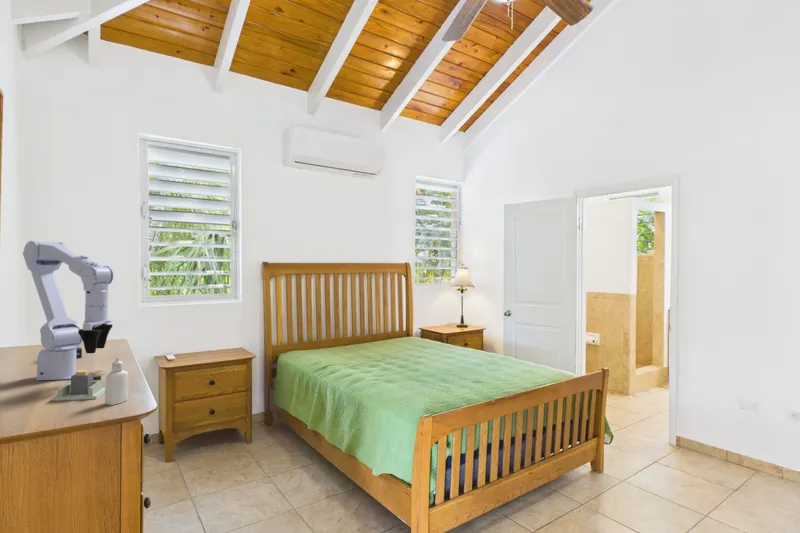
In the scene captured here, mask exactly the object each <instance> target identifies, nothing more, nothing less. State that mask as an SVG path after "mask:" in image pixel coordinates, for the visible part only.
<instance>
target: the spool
mask: <svg viewBox="0 0 800 533" xmlns="http://www.w3.org/2000/svg"><path fill="white" fill-rule="evenodd" d="M89 373H93V381H98V380H102V376H105V371H104V370H89ZM104 386H105V382H104V381H103V387H104Z"/></svg>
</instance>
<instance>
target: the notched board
mask: <svg viewBox="0 0 800 533" xmlns="http://www.w3.org/2000/svg"><path fill="white" fill-rule="evenodd" d="M103 382H104V380H102V379H101V380H98V381H93V385H92V386H91V387H89V388H88V394H81V395H71V381H69V382H67V383H66V384H64V385H63V386H61V387H59V388H58V389H57V395H55V396H54V397H53V399H52V400H53V401H54V402H55V401H57V402H58V401H77V400H78V401H79V400H80V401H81V400H97V399H99V397H100V396H102V395H104V394H105V387H104V386H103Z"/></svg>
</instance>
